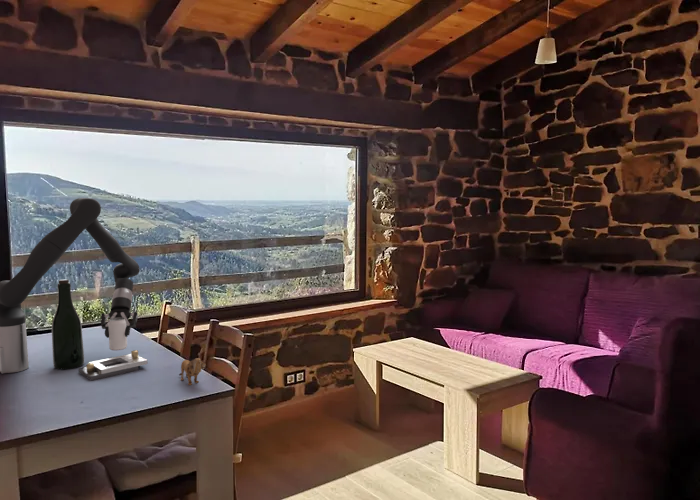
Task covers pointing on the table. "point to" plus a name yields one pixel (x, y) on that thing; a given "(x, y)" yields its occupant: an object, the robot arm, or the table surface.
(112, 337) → the can
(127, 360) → the upper link
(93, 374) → the lower link
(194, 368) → the lion figurine
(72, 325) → the green wine bottle
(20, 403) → the table surface
